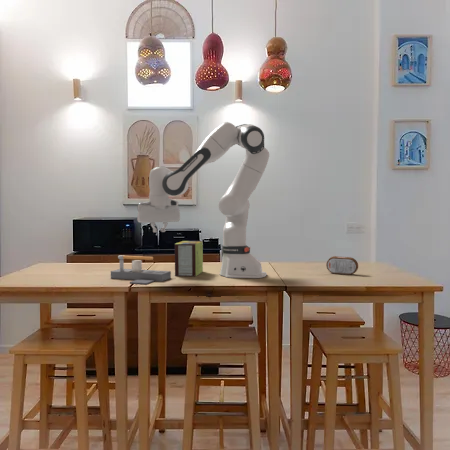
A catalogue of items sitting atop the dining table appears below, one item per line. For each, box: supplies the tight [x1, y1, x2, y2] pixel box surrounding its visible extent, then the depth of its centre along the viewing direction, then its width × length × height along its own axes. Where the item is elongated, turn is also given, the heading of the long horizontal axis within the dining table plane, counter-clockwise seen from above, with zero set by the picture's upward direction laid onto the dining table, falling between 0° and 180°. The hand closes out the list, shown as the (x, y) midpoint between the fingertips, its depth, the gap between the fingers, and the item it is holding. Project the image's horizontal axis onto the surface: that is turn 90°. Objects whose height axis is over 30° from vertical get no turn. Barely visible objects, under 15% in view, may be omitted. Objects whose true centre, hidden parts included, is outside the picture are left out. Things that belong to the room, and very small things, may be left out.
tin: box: [326, 255, 359, 276], centre depth 212 cm, size 15×3×8 cm, turn 65°
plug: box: [131, 259, 143, 272], centre depth 200 cm, size 4×4×8 cm
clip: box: [117, 254, 154, 261], centre depth 200 cm, size 18×3×1 cm, turn 72°
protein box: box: [174, 240, 204, 277], centre depth 212 cm, size 10×15×16 cm
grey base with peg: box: [110, 259, 172, 283], centre depth 199 cm, size 26×9×9 cm, turn 72°
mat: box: [129, 279, 156, 286], centre depth 189 cm, size 8×8×1 cm
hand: (159, 232), depth 201 cm, fingers open, 3 cm apart
